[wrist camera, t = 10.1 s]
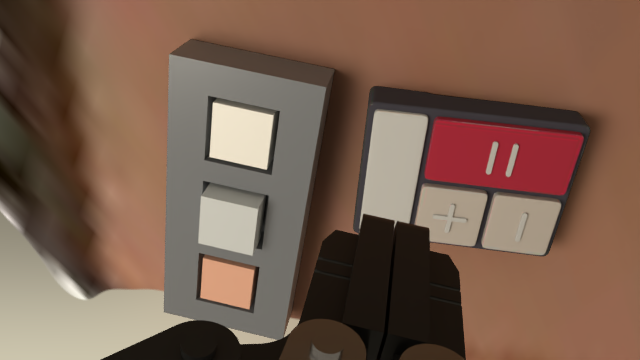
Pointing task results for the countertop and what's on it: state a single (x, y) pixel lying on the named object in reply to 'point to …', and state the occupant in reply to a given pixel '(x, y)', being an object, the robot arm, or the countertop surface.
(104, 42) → the countertop surface
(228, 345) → the robot arm
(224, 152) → the white key
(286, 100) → the keypad
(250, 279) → the terracotta key
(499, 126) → the button control panel
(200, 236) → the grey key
